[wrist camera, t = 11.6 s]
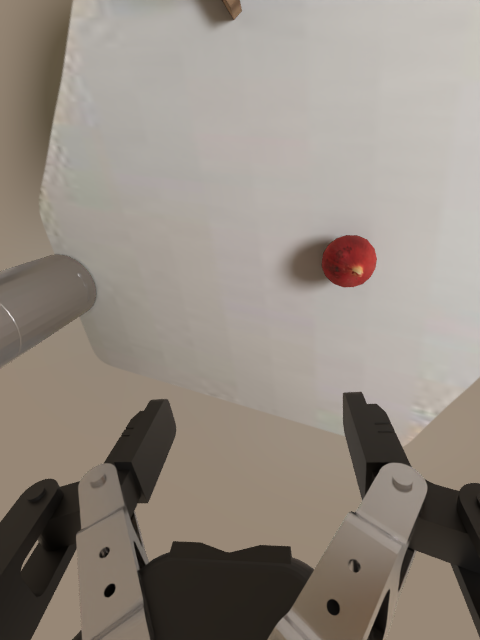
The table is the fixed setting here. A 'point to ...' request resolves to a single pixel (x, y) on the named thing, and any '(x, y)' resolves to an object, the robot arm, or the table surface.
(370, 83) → the table surface
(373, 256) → the onion
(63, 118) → the table surface
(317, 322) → the table surface
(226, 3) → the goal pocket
